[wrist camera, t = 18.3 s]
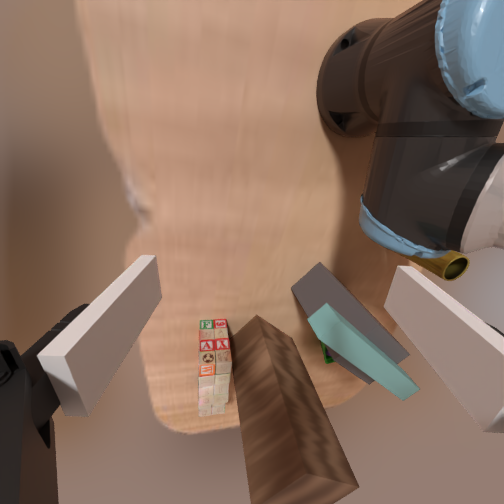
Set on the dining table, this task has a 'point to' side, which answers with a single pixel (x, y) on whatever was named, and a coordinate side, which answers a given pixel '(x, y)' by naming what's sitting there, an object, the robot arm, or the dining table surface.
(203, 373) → the stack of blocks
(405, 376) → the bar
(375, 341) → the step
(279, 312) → the dining table surface
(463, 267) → the vase
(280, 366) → the stand
